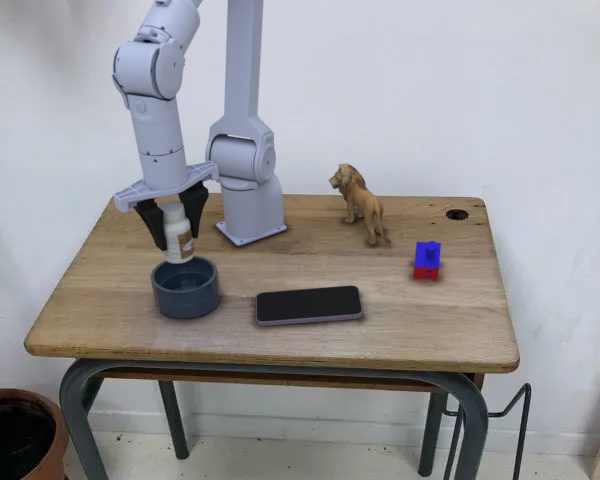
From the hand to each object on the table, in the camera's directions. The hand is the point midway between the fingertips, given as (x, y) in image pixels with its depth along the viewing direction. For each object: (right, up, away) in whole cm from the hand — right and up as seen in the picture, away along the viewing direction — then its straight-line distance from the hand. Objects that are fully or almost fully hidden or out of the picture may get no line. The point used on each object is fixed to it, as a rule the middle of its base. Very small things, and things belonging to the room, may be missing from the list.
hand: (177, 241), depth 96 cm
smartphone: (+18, -9, +3) cm, 21 cm away
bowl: (+1, -8, +5) cm, 9 cm away
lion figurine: (+27, +7, +19) cm, 34 cm away
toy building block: (+36, -3, +9) cm, 37 cm away
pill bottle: (0, -2, +2) cm, 3 cm away
